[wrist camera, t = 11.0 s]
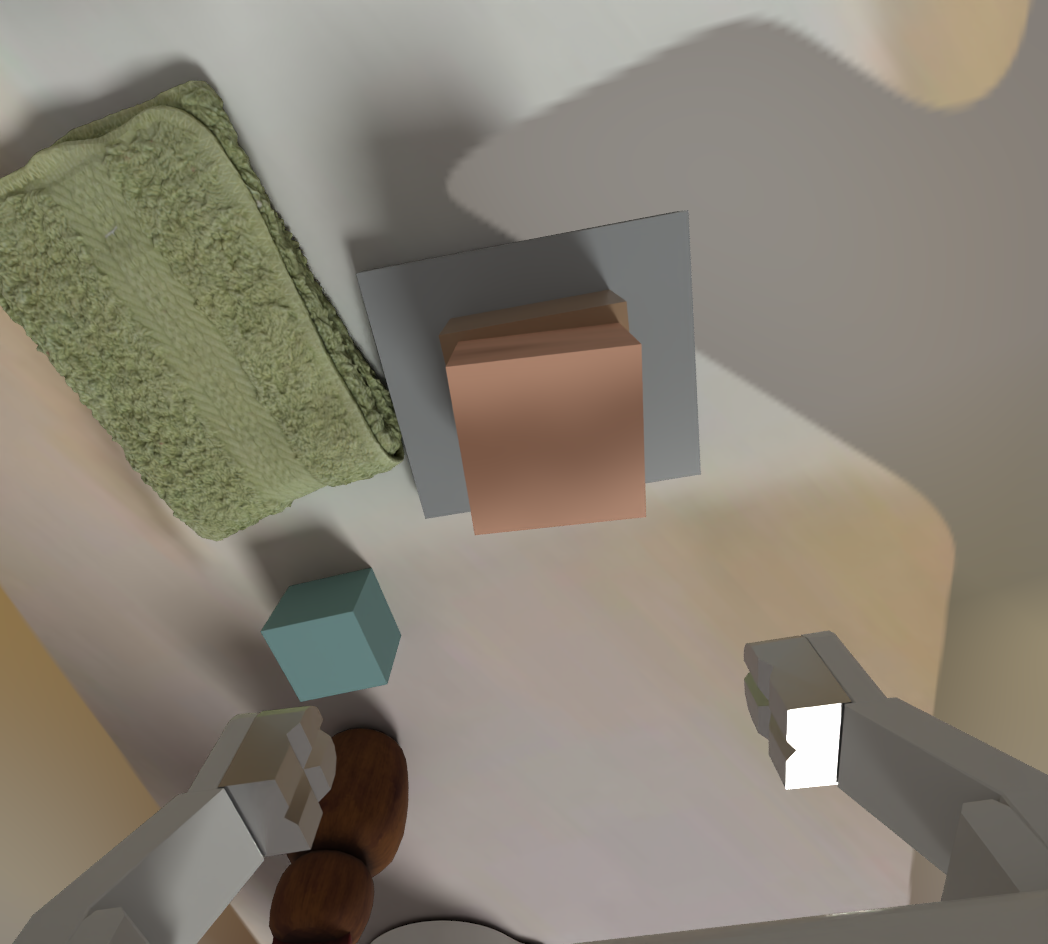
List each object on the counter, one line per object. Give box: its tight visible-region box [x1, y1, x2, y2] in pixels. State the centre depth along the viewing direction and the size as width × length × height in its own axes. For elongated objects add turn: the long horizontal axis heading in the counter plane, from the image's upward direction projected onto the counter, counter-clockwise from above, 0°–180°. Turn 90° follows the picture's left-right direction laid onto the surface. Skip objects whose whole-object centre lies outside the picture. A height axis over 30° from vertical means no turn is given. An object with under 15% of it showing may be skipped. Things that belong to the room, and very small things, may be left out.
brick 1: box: [261, 568, 401, 702], centre depth 31 cm, size 5×5×4 cm
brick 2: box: [446, 323, 646, 535], centre depth 20 cm, size 6×6×4 cm
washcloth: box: [0, 81, 404, 541], centre depth 25 cm, size 13×18×3 cm
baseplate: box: [356, 210, 701, 519], centre depth 24 cm, size 12×14×6 cm
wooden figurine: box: [269, 728, 408, 944], centre depth 30 cm, size 7×6×15 cm
